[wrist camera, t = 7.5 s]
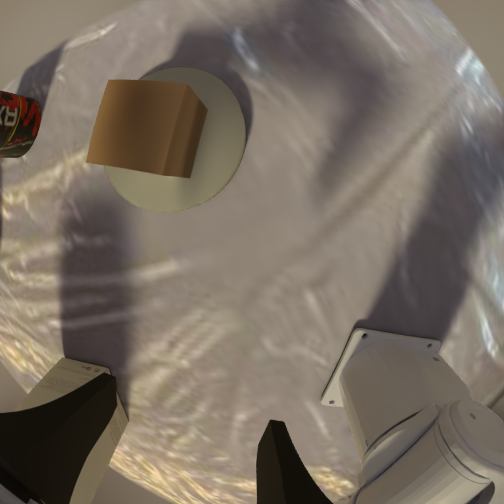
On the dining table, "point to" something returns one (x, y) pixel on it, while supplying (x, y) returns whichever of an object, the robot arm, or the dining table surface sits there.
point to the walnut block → (148, 127)
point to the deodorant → (17, 124)
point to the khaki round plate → (208, 153)
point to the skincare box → (72, 377)
